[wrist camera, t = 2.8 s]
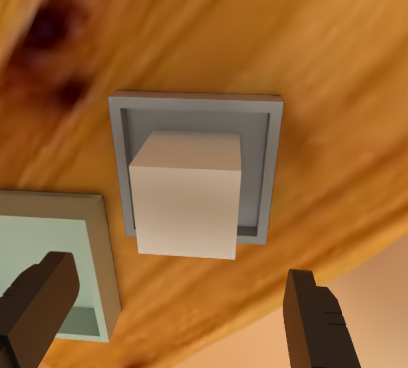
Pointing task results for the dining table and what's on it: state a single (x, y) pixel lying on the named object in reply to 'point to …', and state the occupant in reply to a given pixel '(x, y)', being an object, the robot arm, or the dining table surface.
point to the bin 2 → (204, 122)
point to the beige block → (187, 193)
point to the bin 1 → (64, 242)
